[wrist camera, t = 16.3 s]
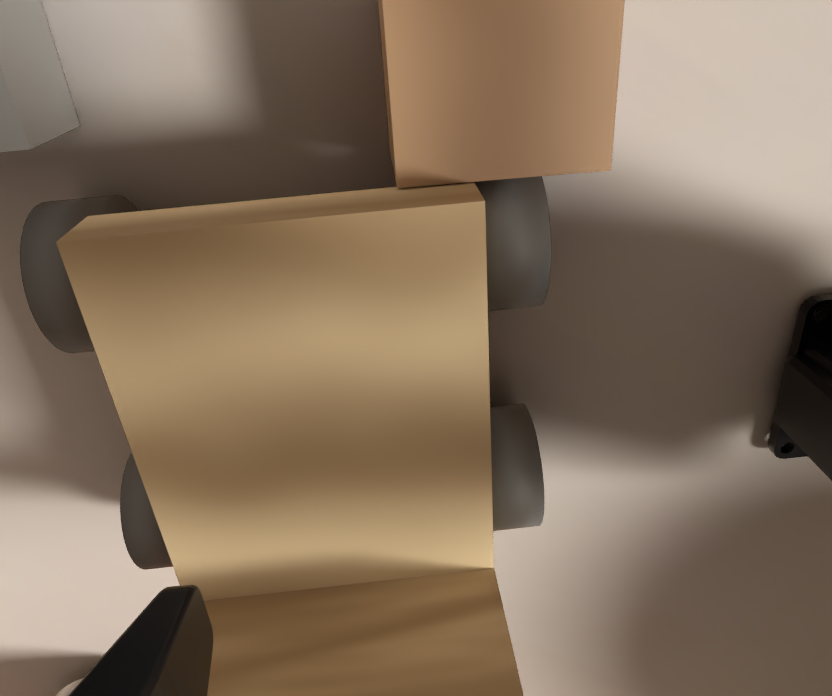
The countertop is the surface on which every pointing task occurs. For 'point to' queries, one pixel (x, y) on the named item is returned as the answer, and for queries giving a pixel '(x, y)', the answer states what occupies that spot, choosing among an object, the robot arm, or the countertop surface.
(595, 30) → the block
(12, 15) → the pin socket
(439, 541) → the trolley
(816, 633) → the countertop surface
